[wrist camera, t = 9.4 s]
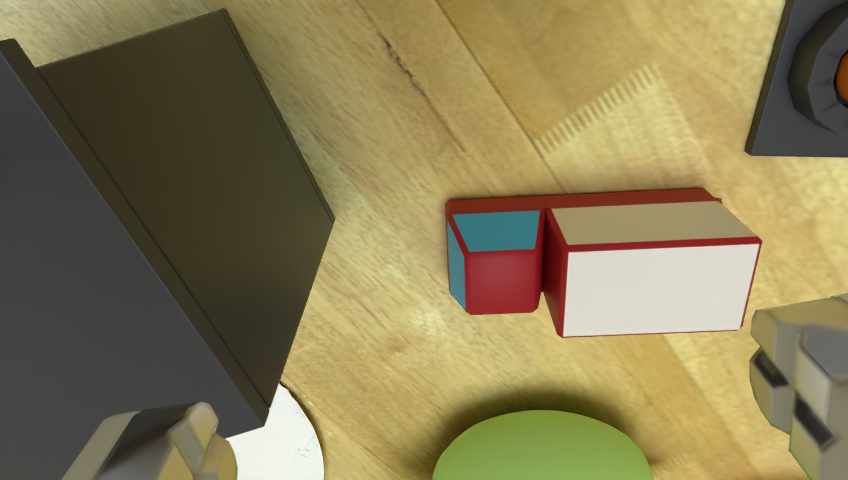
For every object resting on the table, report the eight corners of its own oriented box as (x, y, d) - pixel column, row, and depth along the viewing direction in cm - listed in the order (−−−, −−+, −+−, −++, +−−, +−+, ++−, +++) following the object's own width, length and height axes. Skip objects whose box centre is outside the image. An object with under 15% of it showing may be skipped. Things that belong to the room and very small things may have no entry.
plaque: (349, 534, 47) (347, 550, 45) (114, 550, 48) (104, 567, 47) (293, 321, 39) (287, 334, 37) (13, 350, 40) (-2, 363, 39)
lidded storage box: (53, 87, 31) (-259, 206, 17) (225, 7, 29) (36, 67, 15) (183, 276, 36) (27, 486, 22) (335, 219, 34) (271, 409, 20)
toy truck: (445, 198, 34) (448, 253, 28) (706, 186, 33) (766, 238, 27) (448, 279, 36) (452, 345, 30) (691, 269, 36) (743, 333, 30)
